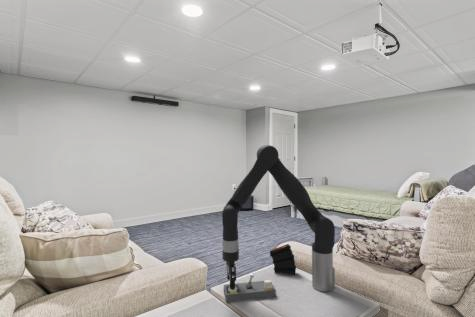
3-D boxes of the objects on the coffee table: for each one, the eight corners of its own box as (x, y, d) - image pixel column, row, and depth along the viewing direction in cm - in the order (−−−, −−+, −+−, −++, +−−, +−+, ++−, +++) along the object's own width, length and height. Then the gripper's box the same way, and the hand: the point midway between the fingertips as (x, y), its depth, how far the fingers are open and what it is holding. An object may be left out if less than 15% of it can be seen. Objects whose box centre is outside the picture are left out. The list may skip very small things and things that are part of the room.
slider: (270, 285, 118) (270, 279, 118) (272, 288, 116) (272, 281, 116) (263, 286, 118) (263, 280, 118) (265, 288, 116) (265, 282, 116)
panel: (269, 286, 125) (269, 278, 124) (275, 296, 116) (275, 288, 116) (223, 291, 121) (223, 283, 121) (226, 302, 112) (226, 293, 112)
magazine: (301, 273, 134) (288, 245, 136) (278, 281, 138) (265, 254, 139) (301, 270, 138) (289, 243, 139) (279, 277, 141) (267, 251, 143)
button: (236, 291, 119) (236, 285, 119) (238, 296, 115) (238, 290, 115) (227, 292, 119) (227, 286, 119) (228, 297, 114) (228, 291, 114)
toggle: (250, 283, 119) (253, 274, 119) (251, 285, 117) (254, 275, 118) (247, 282, 119) (250, 273, 119) (248, 284, 117) (251, 274, 117)
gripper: (241, 254, 114) (242, 290, 115) (236, 242, 128) (236, 275, 129) (224, 255, 113) (224, 292, 113) (220, 244, 127) (221, 277, 127)
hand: (231, 283), depth 121 cm, fingers open, 8 cm apart
